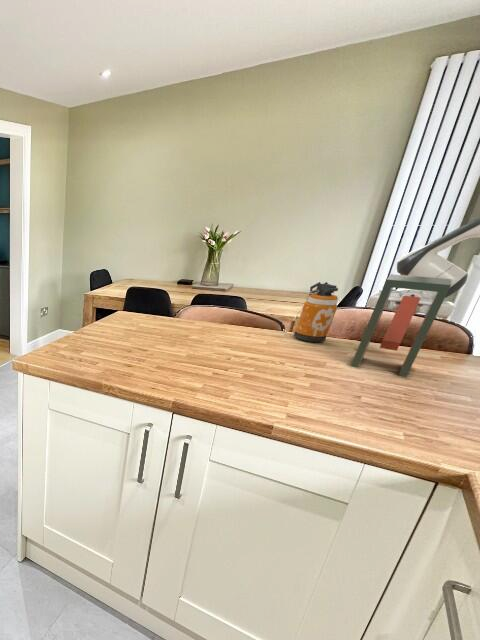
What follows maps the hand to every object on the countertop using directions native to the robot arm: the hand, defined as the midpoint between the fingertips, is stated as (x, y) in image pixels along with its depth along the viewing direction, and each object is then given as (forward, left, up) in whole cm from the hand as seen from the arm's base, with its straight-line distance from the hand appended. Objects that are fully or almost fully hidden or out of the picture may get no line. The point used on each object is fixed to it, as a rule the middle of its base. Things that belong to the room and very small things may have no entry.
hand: (406, 308), depth 130 cm
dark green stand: (+9, +24, -13) cm, 29 cm away
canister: (+23, +1, -13) cm, 26 cm away
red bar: (+1, +4, -5) cm, 7 cm away
